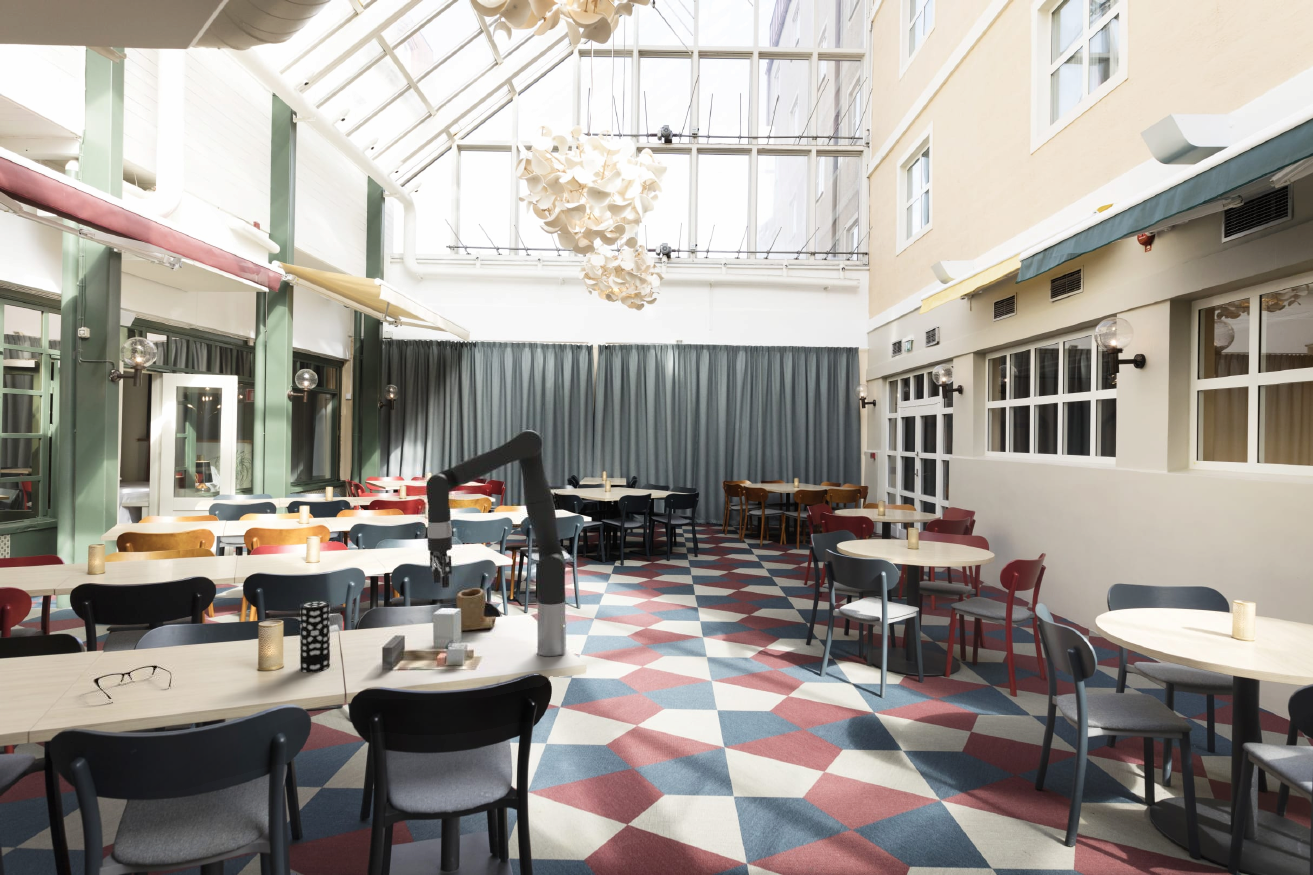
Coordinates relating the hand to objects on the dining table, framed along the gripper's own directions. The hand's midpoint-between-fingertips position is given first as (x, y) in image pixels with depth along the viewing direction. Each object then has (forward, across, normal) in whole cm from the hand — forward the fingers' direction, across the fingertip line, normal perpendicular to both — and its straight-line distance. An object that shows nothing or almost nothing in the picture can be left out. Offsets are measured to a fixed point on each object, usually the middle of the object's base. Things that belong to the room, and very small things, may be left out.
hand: (441, 584), depth 226 cm
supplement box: (+24, +10, -5) cm, 27 cm away
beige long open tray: (+24, -7, +5) cm, 26 cm away
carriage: (+22, -11, -1) cm, 25 cm away
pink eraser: (+23, -8, +3) cm, 24 cm away
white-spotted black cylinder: (+23, +14, +36) cm, 45 cm away
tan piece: (+24, +25, -21) cm, 41 cm away
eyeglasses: (+23, +25, +81) cm, 88 cm away
